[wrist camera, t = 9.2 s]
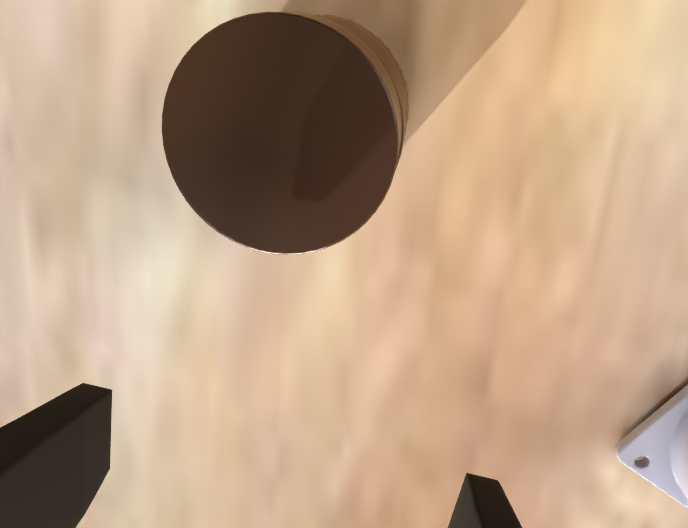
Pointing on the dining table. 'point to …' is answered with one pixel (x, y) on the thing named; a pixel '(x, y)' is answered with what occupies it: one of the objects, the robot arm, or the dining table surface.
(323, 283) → the dining table surface
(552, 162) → the dining table surface
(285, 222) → the top chip
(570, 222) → the dining table surface
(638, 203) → the dining table surface
